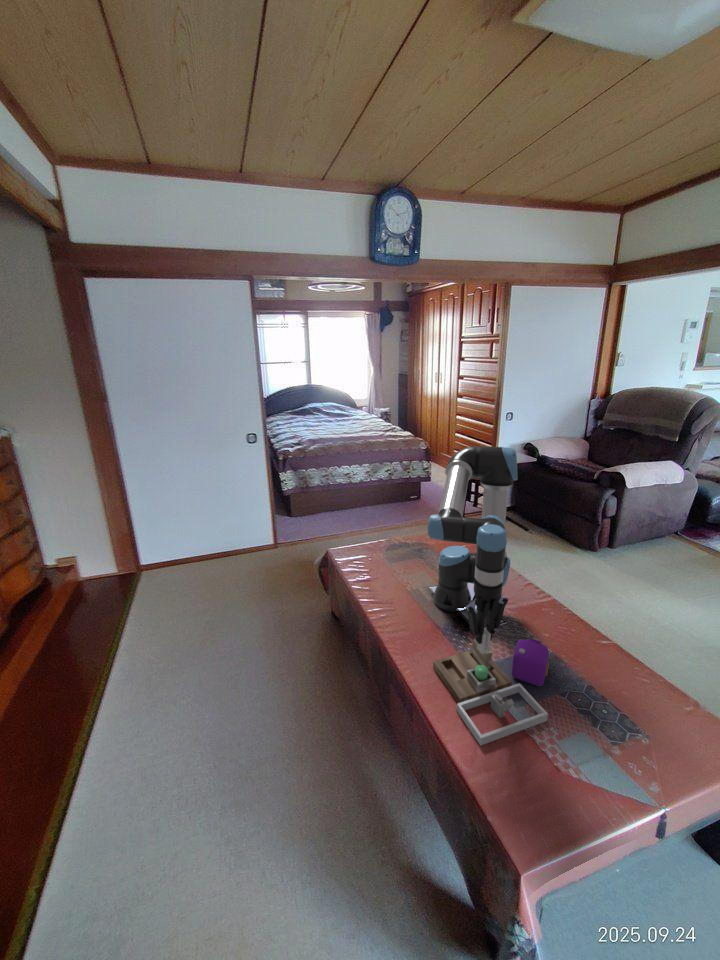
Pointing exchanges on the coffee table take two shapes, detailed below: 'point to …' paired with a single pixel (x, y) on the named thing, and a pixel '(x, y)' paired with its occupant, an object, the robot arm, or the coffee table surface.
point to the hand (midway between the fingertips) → (483, 650)
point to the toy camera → (530, 662)
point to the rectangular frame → (507, 729)
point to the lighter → (500, 705)
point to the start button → (481, 673)
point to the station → (470, 674)
